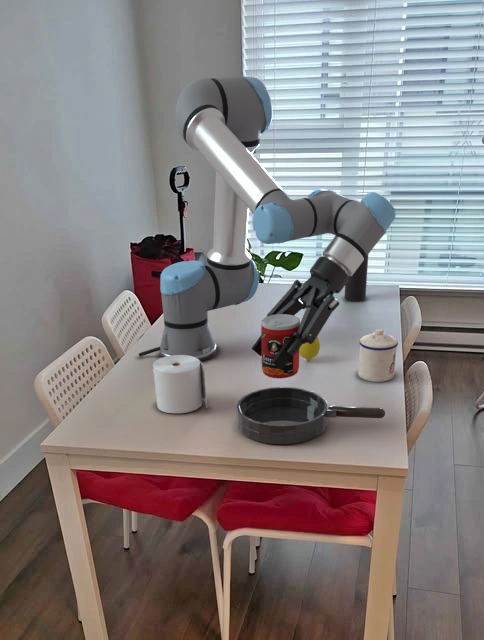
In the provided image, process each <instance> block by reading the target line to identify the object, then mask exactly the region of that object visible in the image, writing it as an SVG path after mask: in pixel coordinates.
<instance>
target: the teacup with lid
mask: <svg viewBox="0 0 484 640" xmlns="http://www.w3.org/2000/svg"><path fill="white" fill-rule="evenodd" d="M358 343H359V357H358V358H359V359H358V373H357V374H358V376H359V378H361V379H362V380H364V381H369V382H373V383H381V382H382V383H383V382H387V381H389V380H392V379H393V378H394V376H395V366H396V357H397V346H398V345H399V343H398V340H397V338H396V337H395V336H393V335H390V334H387V333H386V332H385V331H384V329H382V328H377V329H375V330H374V332H372V333H369V334H365V335H363V336H361V338H360V340H359V342H358Z"/></svg>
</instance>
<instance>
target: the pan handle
mask: <svg viewBox="0 0 484 640" xmlns="http://www.w3.org/2000/svg"><path fill="white" fill-rule="evenodd" d="M385 416H386V410H385V409H384V408H382V407H364V406H340V405H337V404H336V405H335V404H328V408H327V418H329V419H330V418H331V419H332V418H333V419H334V418H335V419H336V418H354V419H355V418H356V419H379V420H380V419H383V418H384V417H385Z"/></svg>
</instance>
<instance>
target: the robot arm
mask: <svg viewBox="0 0 484 640" xmlns="http://www.w3.org/2000/svg"><path fill="white" fill-rule="evenodd" d="M176 101H177V102H176V105H175V113H174V114H175V123H176V127H177V130H178V132H179V134H180V136H181V137H182V139H183V140H184V142H185V143H186V144H187V145H188V146H189V148H190V149H191V150H193V151H195V152H200V153H201V154H202V156H203V157H204V159H206V160H207V162H208V163H209V164H210V165H211V166H212V167H213V169H214V170H215V189H214V190H215V191H214V193H215V194H214V213H213V216H214V217H213V241H212V243H213V244H212V248H211V249H210V250H209V251H208V252H207V254H206V264H204V262H202V261H199V260H188V261H185V260H184V261H179V262H176V263H173V264H170V265H169V266H166V267H165V268H164V269H163V270H162V272H161V273H160V286H159V290H160V295H161V303H162V315H163V325H164V326H163V327H164V328H163V332H162V336H161V341H160V345H159V346H157V347H154V348H151V349H147V350H145V351H142V352H139V353H138V356H139V357H144V356H147V355H150V354H153V353H156V352H158V351H159V354H160V358H163V357H167V356H172V355H188V356H192V357H195V358H197V359H198V360H200V361H201V362H203V361H205V360H208V359H210V358H212V357H214V356H215V355H216V353H217V344H216V340H215V338H214V336H213V333H212V330H211V327H210V326H209V318H208V316H209V315H208V312H209V311H215V310H217V309H222V308H227V307H231V306H238V305H240V304H242V303H245V302H247V301H250V300H251V299H252V298H253V297H254V296H255V294H256V292H257V290H258V286H259V280H260V279H259V276H260V275H259V271H257V270H258V266H257V264H256V263H255V262H254V260H253V259H252V255H251V254H250V252H248V250H247V239H248V225H249V211H250V212H251V213H252V229H253V231H255V237H256V238H257V239H258V241H259V242H261V243H262V244H265V245H273V244H284V243H288V242H291V241H296V240H300V239H305V238H312V237H315V236H316V237H317V236H322V235H326V234H330V235H333V238H332V239H331V241H329V243H328V244H327V246H326V247H325V249H324V250H323V251H322V253H321V254H322V256H319V257H318V258H317V259H316V261H315V262H314V264H313V265H312V266H311V267H310V269H309V274H310V276H309V277H308V279H307V280H305V281H304V282H301V281H300V280H299V279H295V280H294V282H293V283H292V285H291V286H290V288H289V290H287V292H286V293H285V294H284V295H283V296H282V297H281V298H280V299H279V301H277V303H276V304H275V305H274V306H273V308H272V309H271V310H270V311H269V312H268V313H267V314H266V317H267V316H270V315H276V314H288V315H293V316H296V315H297V314H298V313H300V311H301V310H305V311H304V313H303V315H302V318H301V320H300V325H299V327H298V330H297V332H296V333H293V335H294V336H295V337H296V338H295V337H294V336H292V335H291V337H290V338H289V339H288V340H287V342H286V343H285V344H284V346H283V347H282V348H281V350H280V351H279V352H278V354H277V355H276V356H275V358H274V359H273V360H272V363H273V364H275V365H276V366H277V367H278V368H279V369H281V370H282V369H283V367H284V366H285V365H286V363H287V362H288V361H289V360H290V358H291V357H292V356H293V355H295V353H296V352H297V350H298V349H299V348H300V347H301V345H302V344H305V343H309V344H312V343H313V342H314V341H315V339H316V337H317V336H318V337H319V334H320V332H321V331H322V330H323V328H324V326H325V325H326V323H327V322H328V319H329V318H330V316H331V315H332V313H333V312H334V311H335V310H336V309H337V308H338V307H339V306H340V302H339V300H338V299H337V298H336V297H335V296H334V294H340V293H341V292H342V290H343V289H344V288H345V285H346V283H347V282H348V281H349V277H348V276H352V275H353V274H354V273H355V271H356V270H357V269H358V267H359V266H360V264H361V263H362V262H363V261H364V259H365V258H366V257H367V255H368V256H369V255H370V253H371V251H373V249H374V248H375V246H376V245H377V244H378V243H379V242H380V240H381V239H382V238H383V237H384V235H386V234H387V231H388V230H389V228H390V226H391V225H392V224H393V222H394V221H395V219H396V215H397V212H396V209H395V207H394V206H393V204H392V203H391V201H389V200H388V199H387V198H386V197H385V196H383V195H381V194H380V193H377V192H376V191H375V192H374V191H372V192H367V193H366V194H365V196H364V197H362V198H361V200H360V201H359V200H355V199H352V198H350V197H347V196H344V195H342V194H340V193H337V192H336V191H334V190H330V189H325V188H316V189H314V190H313V191H312V192H311V193H310V194H308V195H307V197H302V198H291V197H290V196H289V195H288V194H287V192H286V191H285V190H284V189H283V188H282V187H281V186H280V185H279V183H278V182H277V181H275V180H276V179H274V178H273V177H272V176H271V174H270V173H269V172H268V171H267V170H266V169H265V168H264V167H263V166H262V164H261V163H260V162H259V161H258V160H257V159H256V158H255V156H254V155H253V153H254V151H255V150H256V149H257V148H259V146H260V145H261V144H260V143H261V135H262V134H264V133H265V132H267V131H268V129H269V127H270V126H271V124H272V120H273V102H272V99H271V95H270V93H269V91H268V88H267V87H266V85H265V84H264V82H262V80H260V79H259V78H256V77H254V76H244V75H237V76H236V75H235V76H223V77H211V78H208V77H206V78H205V77H204V78H199V79H196V80H193V81H192V82H190V83H189V84H187V85H186V86H185V87H184V88H183V89H182V90H181V92H180V94H179V96H178V99H177V100H176ZM310 334H311V336H310ZM250 349H251V350H252V351H253V352H254V353H256V354H257V355H258V356H259V357H262V346H261V335H260V336H259V337H258V339H257V340H256V341H255V343H254V344H253V345H252V347H251V348H250Z"/></svg>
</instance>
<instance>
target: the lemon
mask: <svg viewBox="0 0 484 640" xmlns="http://www.w3.org/2000/svg"><path fill="white" fill-rule="evenodd" d="M310 336H311V334H310ZM320 343H321V342H320V338H319V335H318V336H317V337H316V339H315V341H314V342H313V343H312V344H309V343H305V344H302V345H301V347H300V349H299V356H301V357H302V358H303V359H305V360H306V361H307V362H311V360H312V359H314V358H316V357H317V356H318V354H319V352H320V348H321V344H320Z"/></svg>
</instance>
